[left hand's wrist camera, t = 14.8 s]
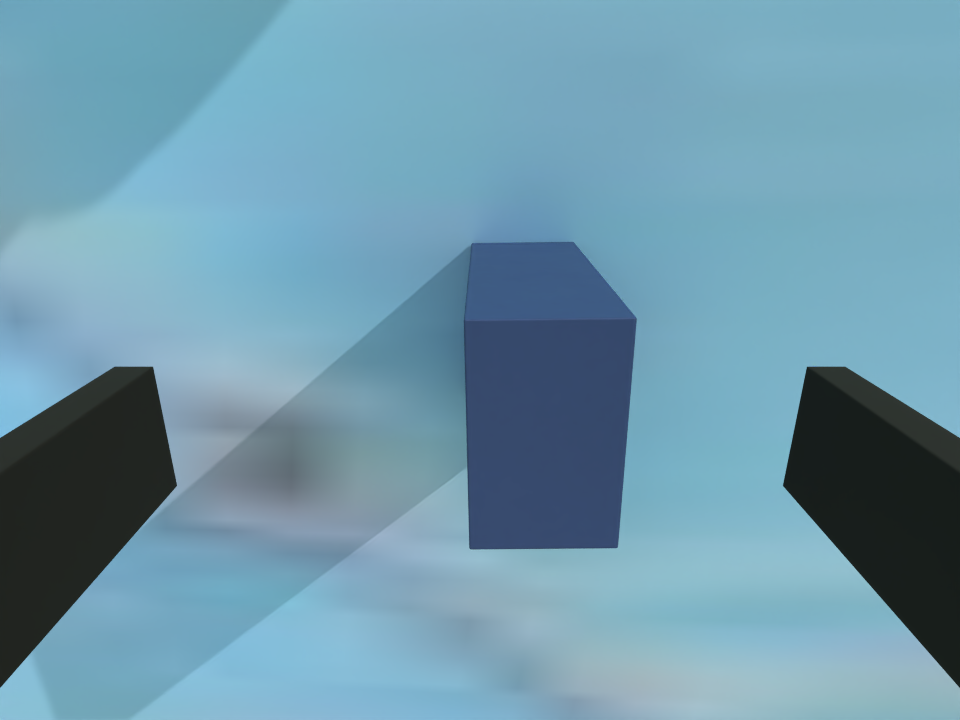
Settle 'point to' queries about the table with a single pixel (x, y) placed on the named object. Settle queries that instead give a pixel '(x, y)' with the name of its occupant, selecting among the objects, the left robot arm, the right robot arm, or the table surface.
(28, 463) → the left robot arm
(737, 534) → the table surface
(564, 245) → the brick
